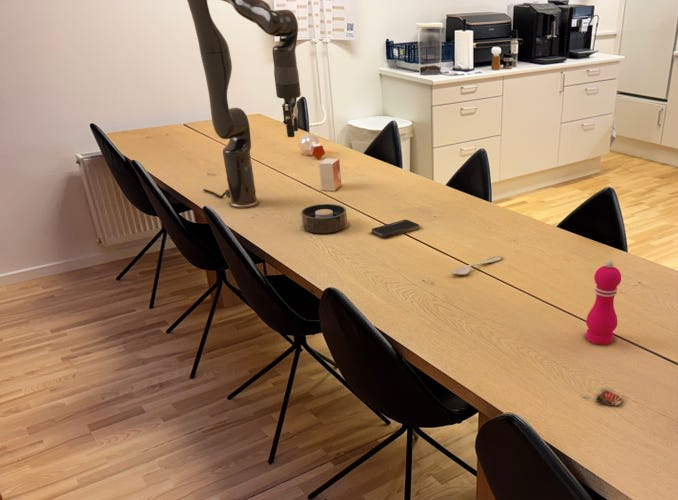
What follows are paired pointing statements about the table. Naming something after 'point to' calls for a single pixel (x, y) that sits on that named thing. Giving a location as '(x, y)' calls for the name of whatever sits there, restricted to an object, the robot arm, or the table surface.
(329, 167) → the small box
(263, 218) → the table surface
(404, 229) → the phone
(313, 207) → the bowl
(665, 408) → the table surface
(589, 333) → the pepper mill
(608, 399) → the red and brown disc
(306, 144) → the potion bottle
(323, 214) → the grey short cylinder
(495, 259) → the spoon
